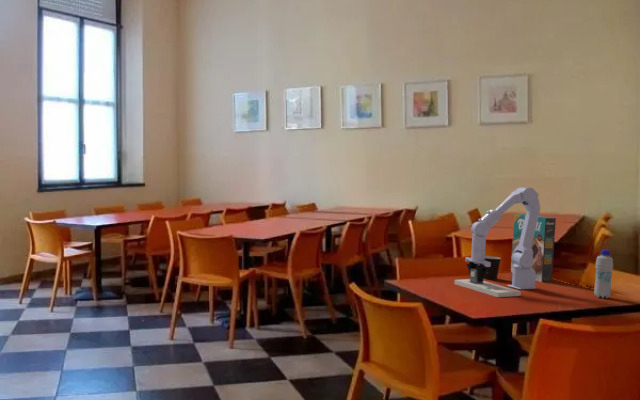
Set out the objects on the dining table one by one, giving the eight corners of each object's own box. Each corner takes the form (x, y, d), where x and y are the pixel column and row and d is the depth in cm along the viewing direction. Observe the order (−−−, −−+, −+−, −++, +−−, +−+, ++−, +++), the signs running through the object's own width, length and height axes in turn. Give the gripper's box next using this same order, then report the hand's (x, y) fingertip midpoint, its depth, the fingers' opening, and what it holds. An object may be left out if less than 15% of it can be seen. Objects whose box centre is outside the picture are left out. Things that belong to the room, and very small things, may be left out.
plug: (477, 285, 271) (478, 268, 270) (483, 286, 267) (484, 269, 267) (468, 285, 269) (469, 268, 269) (474, 287, 265) (475, 270, 265)
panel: (476, 282, 278) (476, 278, 277) (520, 295, 252) (520, 290, 252) (454, 283, 272) (454, 279, 272) (497, 297, 247) (497, 292, 247)
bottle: (609, 296, 259) (613, 249, 258) (611, 299, 252) (615, 251, 251) (592, 294, 261) (595, 248, 260) (594, 297, 255) (597, 249, 253)
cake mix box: (510, 273, 308) (514, 213, 306) (520, 273, 310) (524, 214, 309) (541, 281, 288) (545, 218, 286) (551, 281, 290) (555, 218, 288)
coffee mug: (501, 280, 286) (502, 259, 286) (483, 279, 286) (484, 258, 286) (494, 276, 298) (496, 255, 297) (476, 275, 298) (478, 254, 297)
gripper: (460, 247, 272) (458, 277, 273) (482, 252, 259) (480, 284, 260) (473, 247, 275) (471, 277, 276) (495, 251, 262) (493, 283, 263)
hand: (476, 280), depth 268 cm, fingers closed on plug, 4 cm apart
